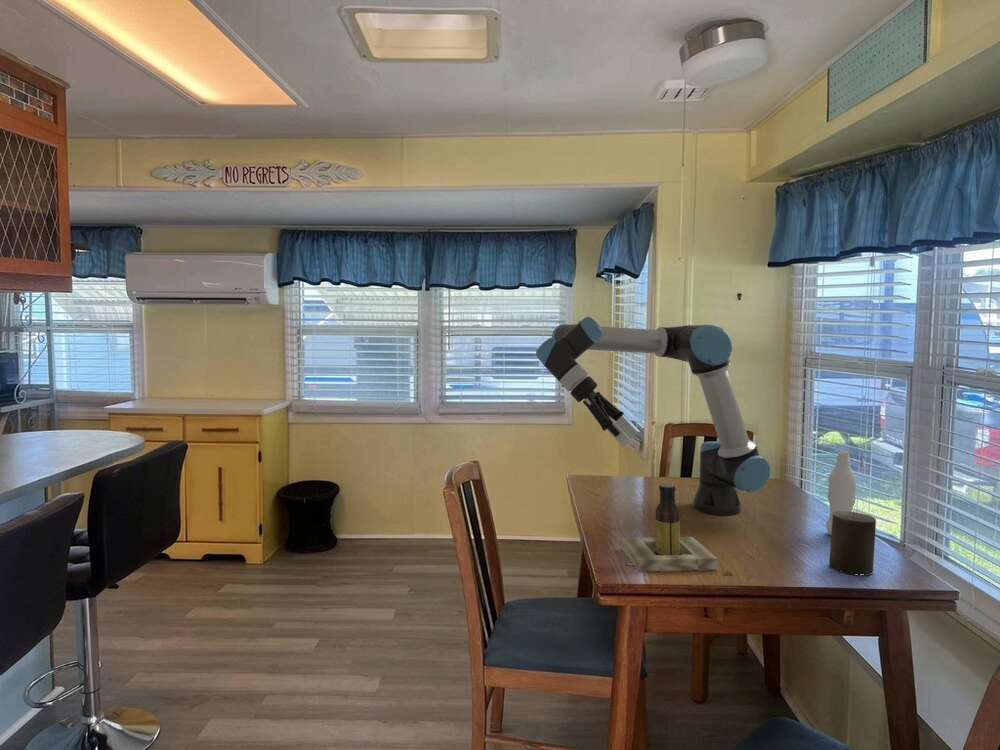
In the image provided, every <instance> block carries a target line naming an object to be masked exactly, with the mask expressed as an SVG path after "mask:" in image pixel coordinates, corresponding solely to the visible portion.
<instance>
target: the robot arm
mask: <svg viewBox="0 0 1000 750" xmlns="http://www.w3.org/2000/svg"><path fill="white" fill-rule="evenodd" d="M587 350H588V351H603V352H604V351H607V352H621V353H637V354H638V353H641V354H654V355H655V356H656V357H658V358H667V359H668V358H669V359H675V360H678V361H682V362H686V363H688V365H689V368H690V371H691V374H692V375H694V376H696V377H698V380H699V382H700V386H701V388H702V391H703V395H704V398H705V401H706V403H707V407H708V410H709V414H710V416H711V417H710V418H711V420H712V423H713V428H715V433H716V436H717V438H718V441H717V440H715V441H714V440H713V441H703V442H702V443H701V446H700V450H699V456H700V457H699V485H698V488H697V490H696V493H695V496H694V498H693V503H692V506H693V508H694V509H695V510H696V511H698V512H701V513H704V514H705V513H706V514H710V515H718V516H733V515H732V514H734V515H737V513H738V514H739V512H740V513H741V509H742V505H741V501H740V497H739V494H738V490H739V491H744V492H749V493H754V492H757V491H759V490H761V489H763V488H764V487H765V485H766V484H767V483H768V480H770V476H771V465H770V463H769V462H768V460H767V459H766V458H764V457H763V456H762V455H760V454H759V451H758V446H757V445H756V443H755V442H754V441H752V440H750V438H749V436H748V433H747V429H746V426H745V422H744V420H743V417H742V412H741V410H740V406H739V404H738V400H737V397H736V393H735V390H734V388H733V385H732V380H731V378H730V374H729V371H728V369H729V367H730V365H731V360H730V357H731V352H732V351H733V340H732V339H731V336H730V335H729V333H728V332H727V331H726V330H725V329H724V328H722V327H720V326H716V325H713V324H702V325H701V324H699V325H697V324H695V325H692V324H689V325H681V326H680V325H679V326H671V327H670V326H669V327H668V326H667V327H665V326H659V327H657V328H656V329H646V328H645V329H644V328H632V327H631V328H629V327H628V328H627V327H616V326H614V327H613V326H612V327H610V326H600V324H599V323H598V322H597V321H596V320H595V319H593V318H592V317H591V316H586V317H585V316H584V318H583V319H581V320H579V321H578V323H577V324H575V323H574V324H565V323H564V324H563V323H562V324H560V325H557V326H556V327H555V328H554V329H553V331H552V333H551V337H550V338H548V339H547V340H545V341H544V342H543V343H542V344H541V345H539V346H538V348H537V349H536V352H535V357H536V358H537V359H538V361H540V362H541V363H542V365H543V367H545V369H547V371H548V372H550V374H551V375H552V376H553V377H554V378H555V379H556V380H557V381H558V382H559V383H560V387H561V388H564V389H565V390H566V391H567V392H570V395H571V397H573V399H574V400H575V401H576V402H577V403H580V402H582V403H583V405H584V406H585V407H586V408H587V409H588V411H590V413H591V414H592V416H593V417H594V419H595V420H596V421H597V422H598V424H599V426H600V427H601V429H602V431H604V432H605V431H606V430H607V432H608V433H609V434H611V436H612V437H613V438H614V439H615V440H616V441H617V442H618V443H619V444H620V445H621V447H622V448H624V447H625V446H627V445H628V444H629V443H631V441H632V438H633V437H635V436H636V435H637V434H638V433H639V432H638V431H637V430H636V428H634V427H633V425H631V424H630V422H629V421H628V420H627V419H626V418H625V417H624V412H623V411H620V410H619V409H618V408H617V407H616V406H615V405H613V404H612V402H610V401H609V400H608V399H607V398H605V397H604V396H603V395H602V394H601V392H600V391H594V390H596V389H597V387H598V383H597V382H596V381H595V380H594V379H593V378H592V377H591V376H589V375H588V372H587V371H586V370H585V369H584V367H582V366H581V365H580V364H579V363H578V362H577V361H576V360H577V359H578V358H580V356H582V355H583V354H584V353H585V352H586V351H587ZM613 421H615V422H613ZM737 489H738V490H737Z"/></svg>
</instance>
